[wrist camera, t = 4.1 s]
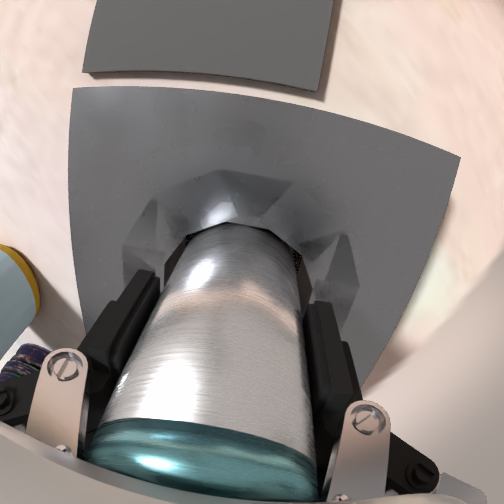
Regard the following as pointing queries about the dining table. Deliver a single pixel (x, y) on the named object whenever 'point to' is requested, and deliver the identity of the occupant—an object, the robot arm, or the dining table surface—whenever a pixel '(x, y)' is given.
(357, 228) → the housing
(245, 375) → the plug
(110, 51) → the mat
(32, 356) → the storage jar
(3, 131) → the dining table surface
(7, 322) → the bottle
